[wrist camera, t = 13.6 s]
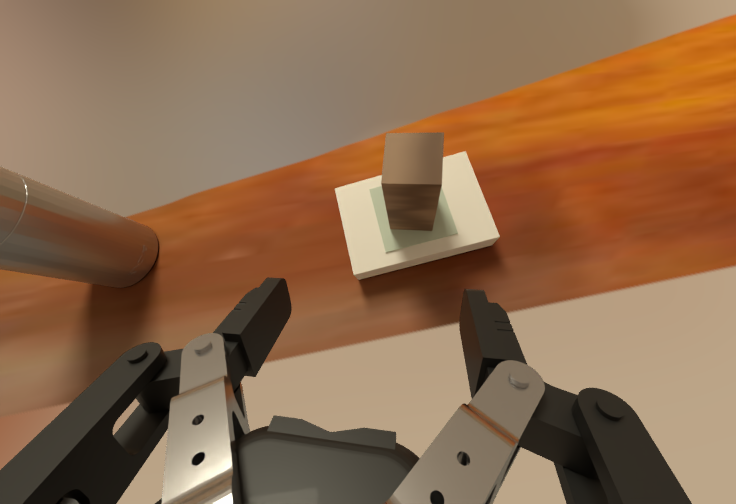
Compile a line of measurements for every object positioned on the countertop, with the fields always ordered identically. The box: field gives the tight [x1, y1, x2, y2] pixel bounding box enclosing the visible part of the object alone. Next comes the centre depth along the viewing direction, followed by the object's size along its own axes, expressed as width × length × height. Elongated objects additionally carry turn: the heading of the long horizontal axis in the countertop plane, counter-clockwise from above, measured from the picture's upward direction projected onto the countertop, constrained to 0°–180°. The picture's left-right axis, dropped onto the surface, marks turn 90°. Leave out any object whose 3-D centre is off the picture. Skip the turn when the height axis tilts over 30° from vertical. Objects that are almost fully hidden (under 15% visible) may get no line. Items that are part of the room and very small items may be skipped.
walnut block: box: [381, 133, 444, 231], centre depth 27 cm, size 5×5×10 cm
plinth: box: [335, 152, 500, 280], centre depth 33 cm, size 16×11×3 cm
